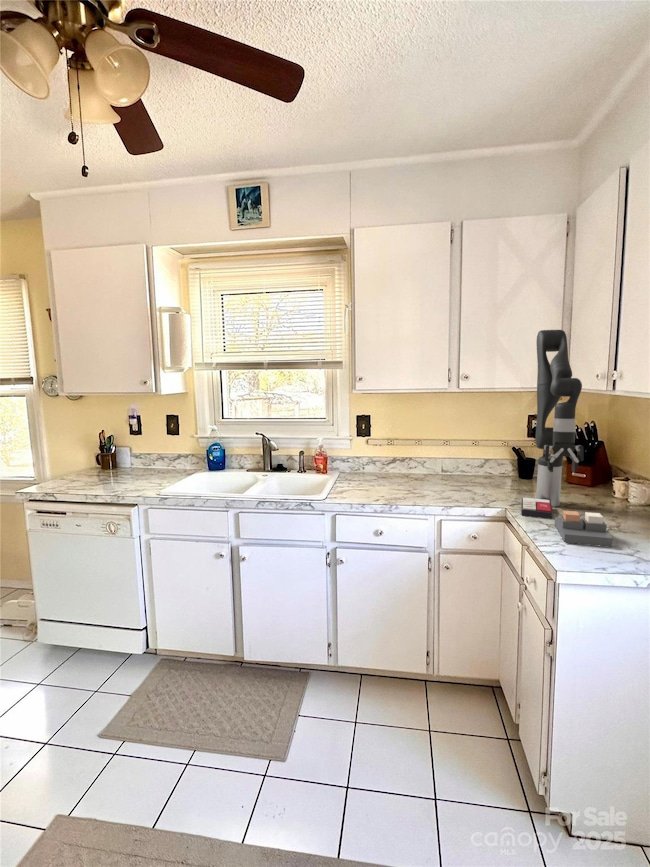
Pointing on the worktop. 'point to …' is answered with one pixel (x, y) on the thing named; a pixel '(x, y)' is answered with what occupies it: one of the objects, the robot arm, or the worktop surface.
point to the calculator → (536, 508)
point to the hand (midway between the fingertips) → (562, 471)
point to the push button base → (583, 532)
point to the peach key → (571, 516)
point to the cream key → (594, 518)
